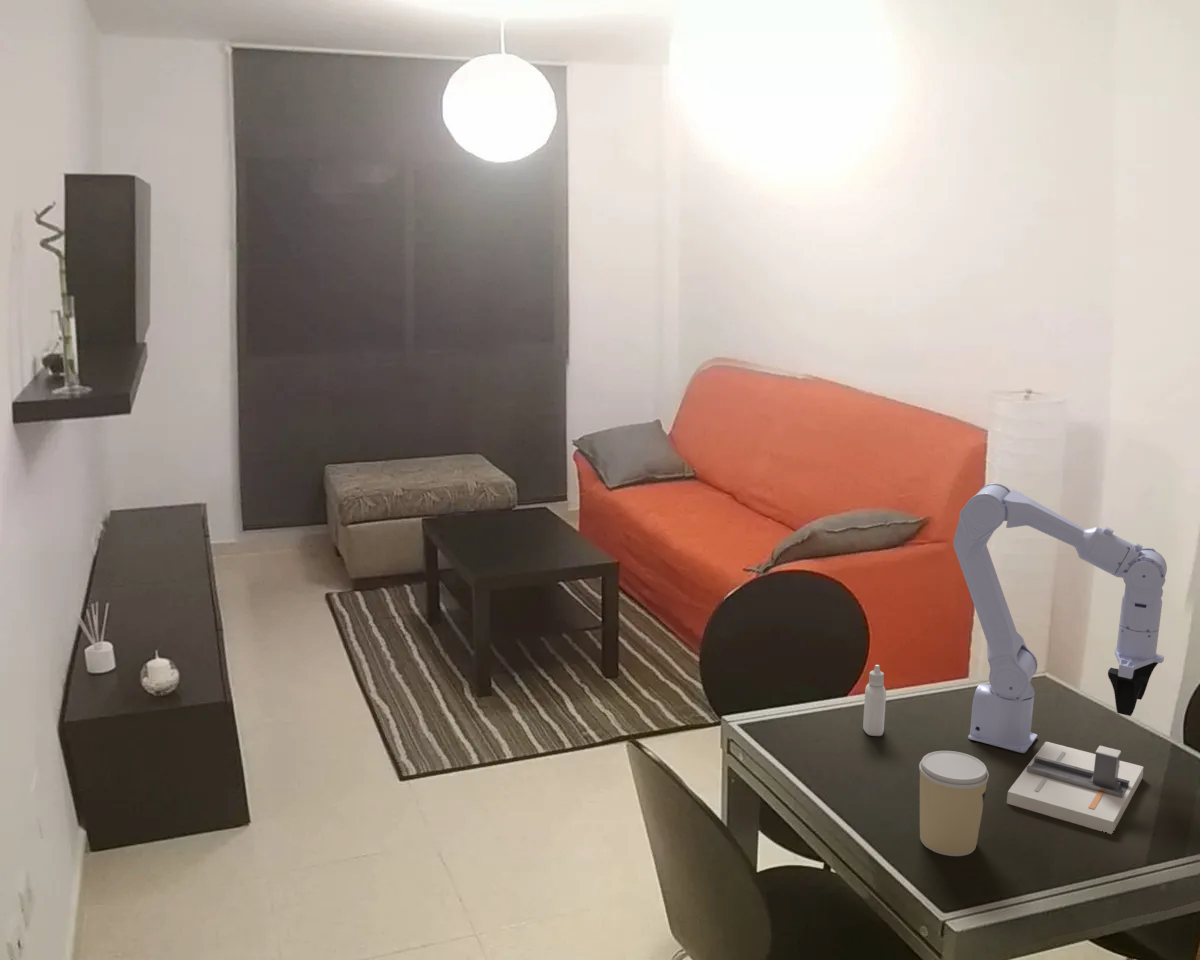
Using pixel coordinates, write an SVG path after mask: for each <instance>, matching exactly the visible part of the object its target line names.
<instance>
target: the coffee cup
mask: <svg viewBox="0 0 1200 960" xmlns="http://www.w3.org/2000/svg"><path fill="white" fill-rule="evenodd" d="M918 768H919V769H918V770H919V839H920V841H921V843H922V844H923V846H924V847H926V848H927V849H929V850H930V851H933V852H934V853H936V854H939V855H944V856H949V857H963V856H967V855H970V854H972V853H973V852H974V851H975V850H976V847H977V843H978V840H979V839H978V838H979V833H980V826H981V822H982V815H983V809H984V803H985V798H986V796H985V795H986V789H987V783H988V781H989V777H990V776H989V775H990V773H989V771H988V769H987V766H986V765H985V763H984V762H983V761H981V760H980V759H979V758H977V757H975V756H973V755H970V754H967V753H965V752H961V751H960V752H959V751H953V750H937V751H935V750H934V751H932V752H929V753H926V755H924V756H923V757H922V759H921V761H920V762H919V764H918Z"/></svg>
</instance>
